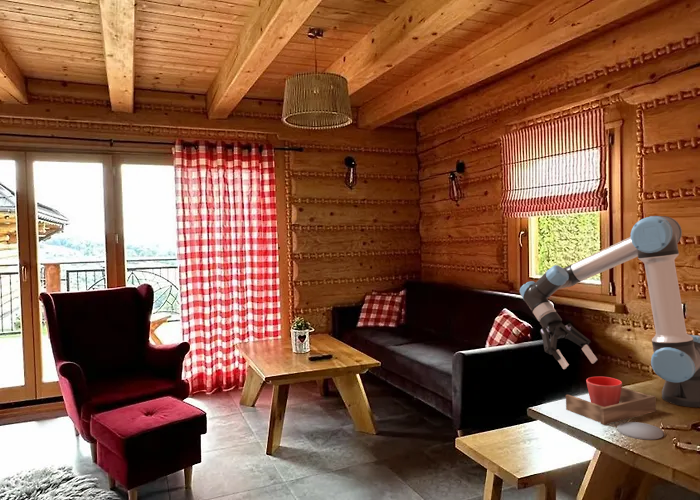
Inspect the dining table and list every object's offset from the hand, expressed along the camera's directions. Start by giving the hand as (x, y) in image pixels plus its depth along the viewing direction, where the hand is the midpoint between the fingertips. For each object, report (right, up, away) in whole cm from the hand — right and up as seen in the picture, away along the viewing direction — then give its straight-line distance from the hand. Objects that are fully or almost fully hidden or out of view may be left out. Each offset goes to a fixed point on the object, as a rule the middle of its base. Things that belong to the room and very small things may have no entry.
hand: (580, 364), depth 178 cm
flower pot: (+4, -13, -8) cm, 16 cm away
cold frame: (+5, -13, -10) cm, 17 cm away
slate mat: (+5, -14, -28) cm, 31 cm away
